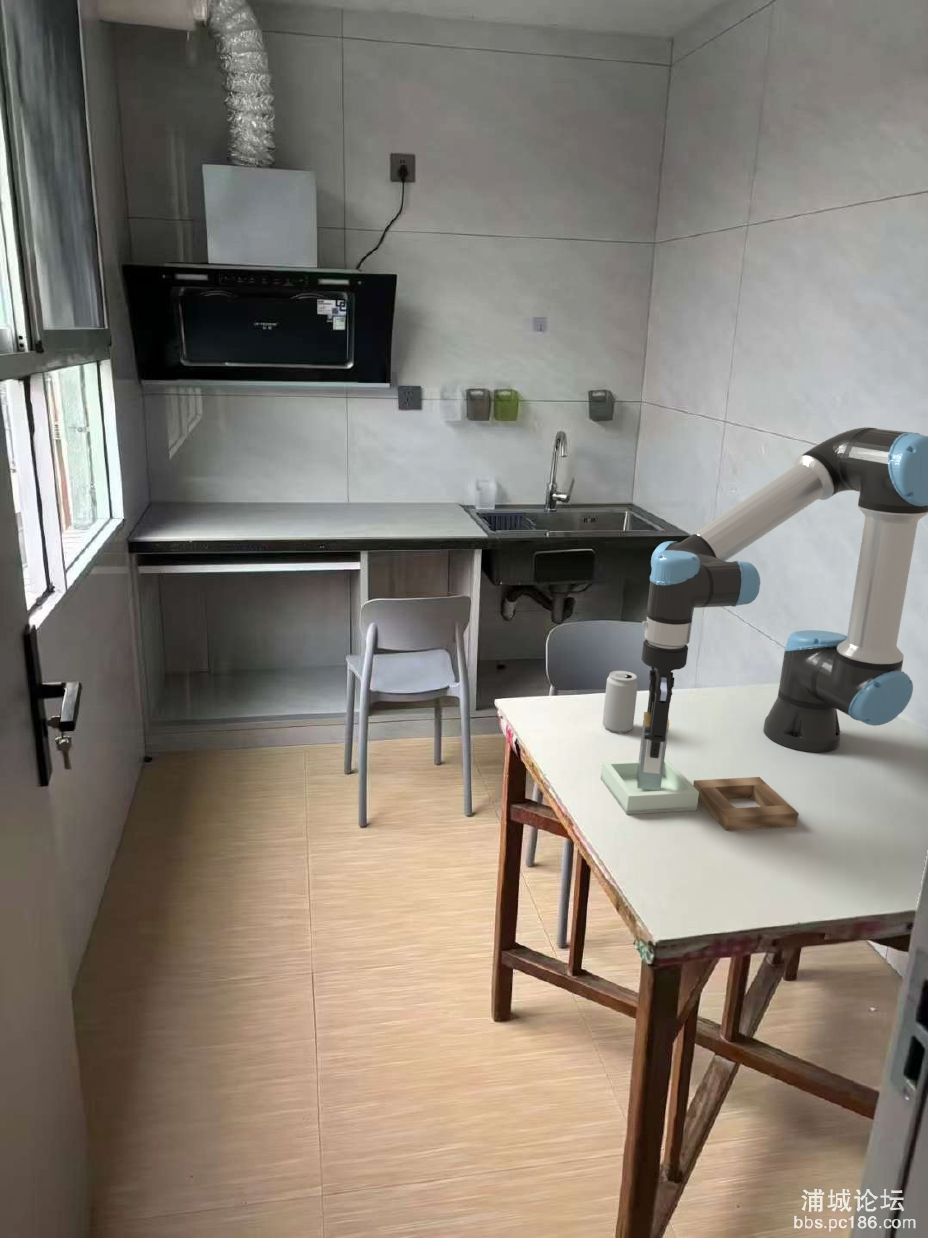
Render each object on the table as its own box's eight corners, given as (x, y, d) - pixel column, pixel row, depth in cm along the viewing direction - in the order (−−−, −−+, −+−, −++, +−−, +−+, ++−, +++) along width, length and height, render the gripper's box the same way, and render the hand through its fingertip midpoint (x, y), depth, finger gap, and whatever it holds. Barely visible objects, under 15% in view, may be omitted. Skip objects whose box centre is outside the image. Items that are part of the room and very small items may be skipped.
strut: (636, 777, 158) (644, 711, 154) (659, 780, 157) (667, 714, 153) (637, 788, 154) (645, 721, 150) (660, 790, 153) (669, 723, 149)
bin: (665, 775, 163) (668, 758, 162) (696, 810, 151) (699, 792, 150) (600, 778, 161) (602, 761, 160) (626, 814, 149) (628, 796, 148)
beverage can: (632, 736, 180) (638, 682, 176) (601, 732, 181) (606, 678, 177) (632, 723, 186) (639, 671, 182) (602, 720, 187) (608, 667, 183)
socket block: (757, 789, 160) (759, 776, 159) (796, 826, 148) (798, 813, 147) (692, 792, 157) (693, 780, 157) (726, 830, 145) (728, 817, 144)
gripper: (641, 625, 156) (628, 743, 163) (646, 656, 140) (630, 786, 147) (684, 629, 155) (668, 747, 162) (693, 660, 139) (675, 791, 146)
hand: (650, 765), depth 154 cm, fingers closed on strut, 4 cm apart
